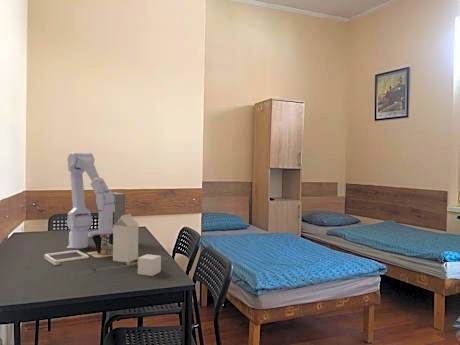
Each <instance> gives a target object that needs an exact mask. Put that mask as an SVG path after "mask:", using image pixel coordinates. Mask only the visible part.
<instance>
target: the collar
mask: <svg viewBox="0 0 460 345" xmlns="http://www.w3.org/2000/svg"><path fill="white" fill-rule="evenodd" d="M98 254H101V255H107V254H113V245H111V244H108V243H107V246H104V243H101V253H98Z"/></svg>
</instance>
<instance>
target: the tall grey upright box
mask: <svg viewBox="0 0 460 345" xmlns="http://www.w3.org/2000/svg"><path fill="white" fill-rule="evenodd" d="M113 192H114V193H115V196H116V202H115V204H113V225H114V224H116V223H117V222H118V220H119V219H120V218H121V216H123V215H126V193H123V192H122V193H121V192H116V191H113ZM105 234H106V233H105ZM101 238H102V241H101V244H104V242H107V244H110V240H109V235H101Z"/></svg>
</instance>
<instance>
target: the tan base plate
mask: <svg viewBox="0 0 460 345" xmlns="http://www.w3.org/2000/svg"><path fill="white" fill-rule="evenodd" d="M103 244H104V246H107V244H108V243H107V242H104V243H103ZM85 254H87V255H90V256H92V257H94V258H95V259H100V258H101V259H102V258H106V257H113V254H107V255H101V254H98V253H97V250H94V251H88V252H85Z"/></svg>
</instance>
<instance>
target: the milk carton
mask: <svg viewBox="0 0 460 345" xmlns="http://www.w3.org/2000/svg"><path fill="white" fill-rule="evenodd" d="M138 258H139V223H138V222H137V221H136V220H135V219H134V217H132V213H128V214H125V215H123V216H121V218H120V219H119V220H118V222H117V223H116V224H114V225H113V256H112V261H113V262H119V263H123V265H131V264H133V263H134V261H135V260H138Z"/></svg>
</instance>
